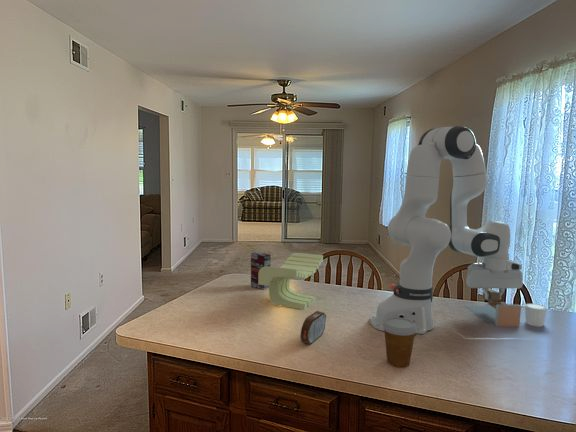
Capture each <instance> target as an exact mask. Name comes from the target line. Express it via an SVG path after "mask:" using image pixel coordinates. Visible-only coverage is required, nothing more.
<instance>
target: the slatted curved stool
mask: <svg viewBox="0 0 576 432" xmlns="http://www.w3.org/2000/svg"><path fill="white" fill-rule="evenodd" d="M323 261H324V255H323V254H315V253H305V252H304V253H303V252H293V253H291V254H290V255H288V257H287V258H286V260H285V261H284V262H283V264H282V265H281V266H279V267H276V266H270V267H268V266H264V267H262V268H261V269H260V270H259V273H258V284H259V285H267V286H268V287H269V288H268V297H269V300H270V302H271V303H272V305H274V306H278V305H281V306H280V307H284V306H286V307H285V308H291V307H293V308H292V309H297V308H300V309H299V310H306V309H307V308H308V307H310V306H311V305H312V304H313V303H314V302H315V301H316V298H315V295H314V296H313V295H312V296H311V295H306V294H301V293H298V292H295V291H294V290H292V289H291V287H290V281H291V280H292V279H299V280H305V279H307V278H309V277H311V276H312V275H314V274H315V273H317V270H319V266H321V265H322V263H323ZM312 302H313V303H312ZM311 303H312V304H311ZM307 306H308V307H307ZM306 307H307V308H306Z"/></svg>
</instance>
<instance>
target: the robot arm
mask: <svg viewBox="0 0 576 432" xmlns="http://www.w3.org/2000/svg"><path fill="white" fill-rule="evenodd" d="M476 140H477V139H476V137H475V134H474V132H473V131H472V130H471V129H470V128H469V127H467V126H463V125H455V126H440V127H437V128H430V129H429V130H427V131H425V132H423V134H422V135H421V137H420V138H419V141H418V144H417V145H416V146H414V147H413V148H412V149H411V151H410V154H409V156H408V157H409V158H408V161H407V167H406V175H405V184H404V194H403V199H402V202H401V205H400V207H399V209H398V212H397V213H396V214H395V215H394V216H393V217H392V218H391V219H390V221H389V223H388V225H387V232H388V235H389V237H390V238H391V239H392V240H394V241H395V242H397V243H398V244H401V245H403V246H404V245H405V246H407V247H410V250H409V253H408V256H407V257H406V258H404V259H403V260H402V261H401V262H400V265H399V283H398V284H395V283H391V284H390V285H389V288H390V289H391V290H392V291H393V294H392V295H390V296H389V297H387V298H386V299H384V300H383V301H381V302H380V303H379V304H378V306H377V309H376V314H371V316H370V317H369V323H370V325H371V326H372V327H373V328H374V329H376V330H378V331H382V332H385V331H384V327H383V324H384V322H385V320H386V319H388V318H393V317H399V318H406V319H409V320H412V321H414V322H415V324H416V327H417V331H416V333H415V334H419V335H420V334H421V335H423V334H425V333H427V331H431V330H432V329H433V330H434V328H435V323H434V319H433V309H432V302H433V298H434V291H433V289H434V287H433V286H432V284H433V283H432V282H433V270H434V265H435V262H436V259H437V257H438V255H439V254H440V253H441V252H442V251H443V250H445V249H446V248H447V247H448V246H449V248H450V249H451V250H452V251H453V252H456V253H459V254H460V253H462V254H467V255H469V256H473V257H479V258H482V263H481V262H480V263H474V262H473V263H471V264H469V265H468V266H467V276H466V280H465V283H466V286H467V287H469V288H470V289H482V293H483V292H484V293H485V299H486V300H485V299H484V300H485V301H487V300H490V299H491V295H490V294H488V292H487V291H489V288H491V289H498V291H497V292H498V293H500V300H502V296H503V294H504V293H505V290H506V289H516V290H517V289H521V288H522V287H523V284H524V283H523V282H524V280H523V279H524V278H523V277H524V276H523V272H522V270H523V269H522V268H523V266H522V264H520V263H519V262H515V261H513V260H511V259H510V255H509V249H510V247H511V228H510V226H509V224H508V223H505V222H503V221H497V220H491V219H490V220H487V222H486V224H484V225H483V226H481V227H479V228H476V229H474V228H471V227H469V226H468V204H469V202H470V201H471V200H473V199H475V198H477V197H479V196H480V195H482V194H483V193H484V191H485V190H486V189H487V183H488V182H487V181H488V178H487V169H486V165H485V164H486V163H485V159H484V155H483V152H482V148H481V147H480V145H478V144H477V141H476ZM443 160H449V162H450V163H451V166H452V171H451V172H452V179H453V182H452V183H453V185H452V190H451V192H450V199H449V225H448V224H447V223H445V222H443V221H442V220H439V219H436V218H432V217H431V218H430V217H426V214H427V211H428V210H429V208H430V206H432V205H434V204H435V203H436V202H437V200H438V197H439V183H440V173H441V171H440V169H441V168H440V166H441V163H442V161H443ZM500 300H499V301H500Z"/></svg>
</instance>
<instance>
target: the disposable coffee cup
mask: <svg viewBox="0 0 576 432" xmlns="http://www.w3.org/2000/svg"><path fill="white" fill-rule="evenodd" d="M383 327H384V331H383V332H384V340H385V350H386V351H385V353H386V362H387V364H388V365H390V366H391V367H395V368H407V367H409V366H410V365H411V364H410V363H411V358H412V353H413V347H414V341H415V336H416V334H417V333H416V331H417V327H416V324H415V322H414V321H412V320H409V319H406V318H399V317H393V318H388V319H386V320H385V322H384V324H383Z"/></svg>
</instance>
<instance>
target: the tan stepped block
mask: <svg viewBox="0 0 576 432" xmlns="http://www.w3.org/2000/svg"><path fill="white" fill-rule="evenodd" d="M487 292H488V294H490V295H491V299H490V300H486V299H485V293H484V292H483V291H482V298H483V299H484V300H485V301H487V304H488V306H492V307H493V308H495V309H496V304H507V303H506V302H504V301H500V293H498V292H499V291H496V290H495V289H493V288H489V291H487Z"/></svg>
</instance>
